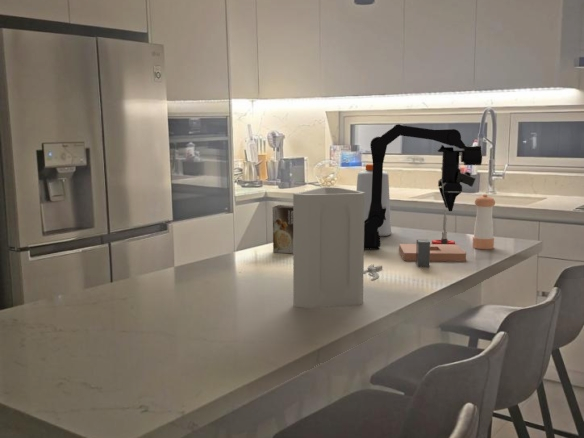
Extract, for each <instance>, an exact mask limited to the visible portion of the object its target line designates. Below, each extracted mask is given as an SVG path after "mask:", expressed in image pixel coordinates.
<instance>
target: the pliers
mask: <svg viewBox="0 0 584 438" xmlns="http://www.w3.org/2000/svg"><path fill="white" fill-rule="evenodd" d="M382 270H383V265H378V266H377V265H376V266H375V264H374V263H373V264H370V265H368V266H367V269H365V270H364V274H363V275H366V273H368V276H370V277H372V278H371V279H370V281H376V280H377V279H378V278H379V273H378V272H379V271H382Z"/></svg>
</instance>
